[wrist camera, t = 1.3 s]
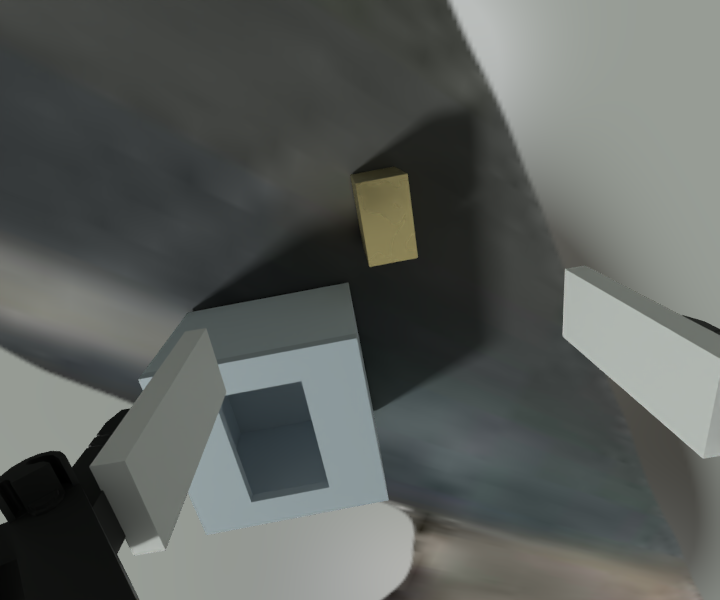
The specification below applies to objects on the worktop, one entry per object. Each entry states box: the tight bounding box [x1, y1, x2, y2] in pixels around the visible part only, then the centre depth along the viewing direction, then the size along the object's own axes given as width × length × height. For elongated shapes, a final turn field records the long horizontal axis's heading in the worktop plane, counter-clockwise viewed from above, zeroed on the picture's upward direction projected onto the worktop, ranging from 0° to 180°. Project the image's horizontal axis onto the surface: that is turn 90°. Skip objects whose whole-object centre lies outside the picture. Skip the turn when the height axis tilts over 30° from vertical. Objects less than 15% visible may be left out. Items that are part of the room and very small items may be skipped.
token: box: [350, 167, 418, 267], centre depth 27 cm, size 5×3×5 cm, turn 10°
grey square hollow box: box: [138, 283, 388, 535], centre depth 29 cm, size 12×12×9 cm
